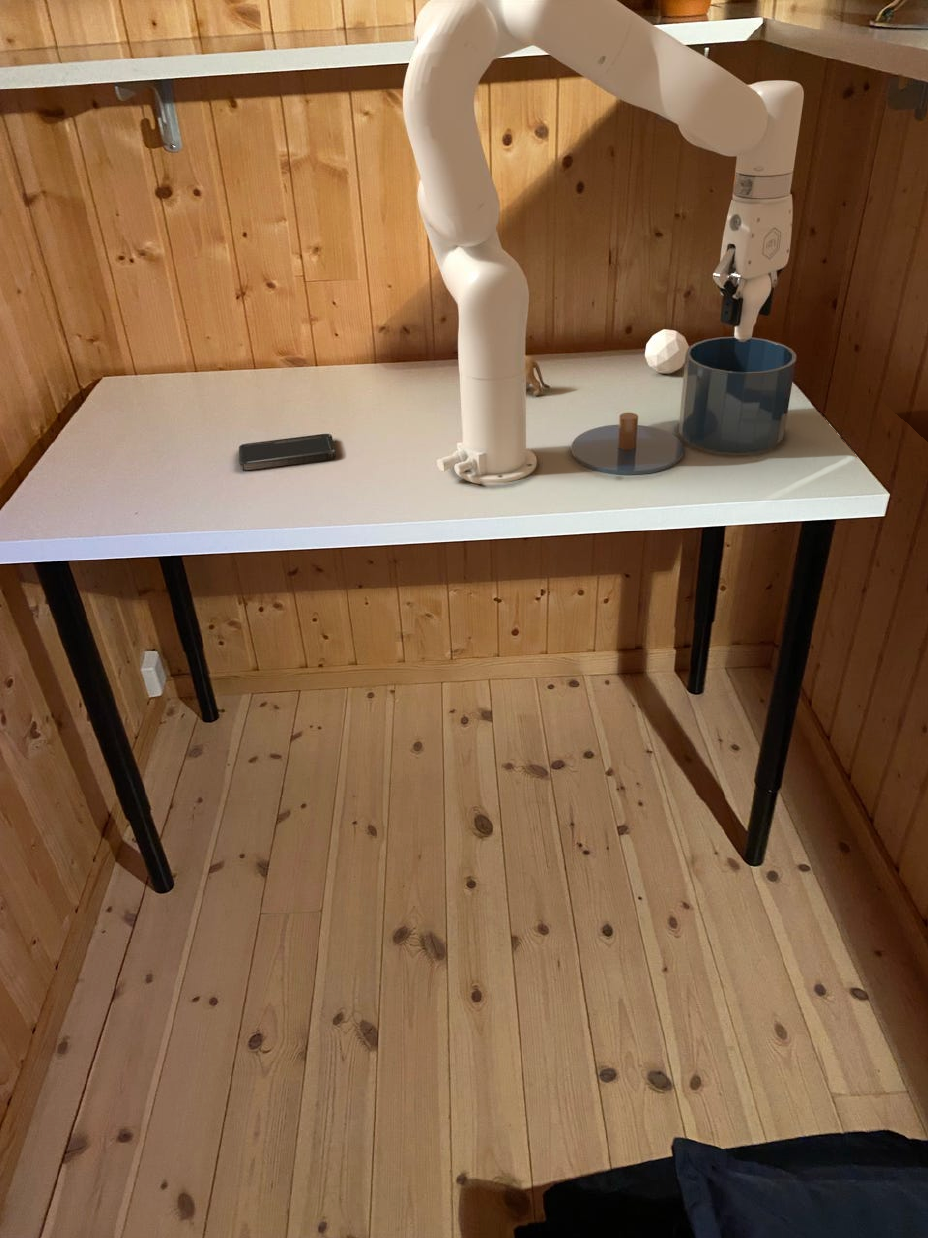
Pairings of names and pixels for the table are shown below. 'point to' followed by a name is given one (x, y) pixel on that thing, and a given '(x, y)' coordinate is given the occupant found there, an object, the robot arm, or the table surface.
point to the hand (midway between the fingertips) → (745, 317)
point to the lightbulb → (751, 304)
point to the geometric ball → (666, 351)
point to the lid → (627, 448)
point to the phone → (286, 451)
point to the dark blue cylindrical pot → (736, 394)
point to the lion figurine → (530, 376)
